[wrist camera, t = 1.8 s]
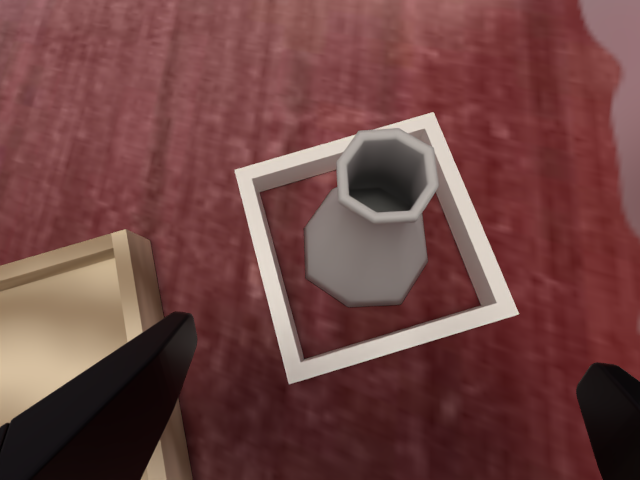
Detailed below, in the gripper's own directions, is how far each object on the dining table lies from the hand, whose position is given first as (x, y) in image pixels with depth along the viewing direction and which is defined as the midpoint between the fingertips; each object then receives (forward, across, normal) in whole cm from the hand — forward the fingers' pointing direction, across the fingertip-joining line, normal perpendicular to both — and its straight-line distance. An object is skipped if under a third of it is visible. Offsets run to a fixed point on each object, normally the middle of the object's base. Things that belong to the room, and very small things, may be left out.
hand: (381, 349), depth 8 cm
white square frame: (+12, 0, +5) cm, 13 cm away
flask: (+12, 0, +5) cm, 13 cm away
